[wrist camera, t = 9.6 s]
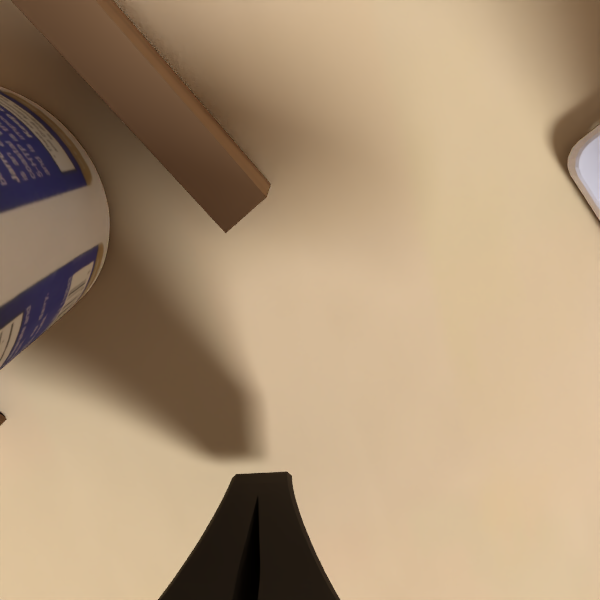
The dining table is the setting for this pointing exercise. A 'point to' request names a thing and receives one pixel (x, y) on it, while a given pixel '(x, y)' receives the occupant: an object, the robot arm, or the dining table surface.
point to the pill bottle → (44, 222)
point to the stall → (151, 104)
